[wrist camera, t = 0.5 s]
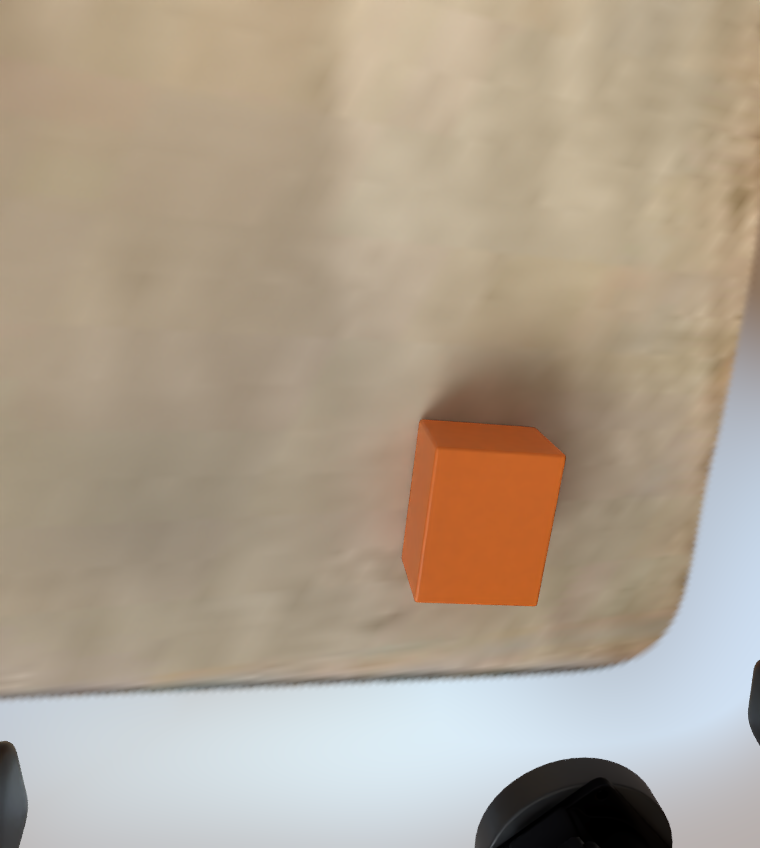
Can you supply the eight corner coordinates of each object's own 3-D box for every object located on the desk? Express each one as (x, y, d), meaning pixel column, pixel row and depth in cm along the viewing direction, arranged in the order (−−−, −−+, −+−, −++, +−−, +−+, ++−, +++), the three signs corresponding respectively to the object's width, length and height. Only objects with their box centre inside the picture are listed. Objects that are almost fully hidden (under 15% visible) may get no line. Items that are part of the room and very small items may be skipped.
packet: (511, 563, 22) (537, 607, 19) (400, 559, 21) (414, 603, 19) (536, 426, 20) (567, 455, 18) (419, 418, 20) (435, 446, 18)
